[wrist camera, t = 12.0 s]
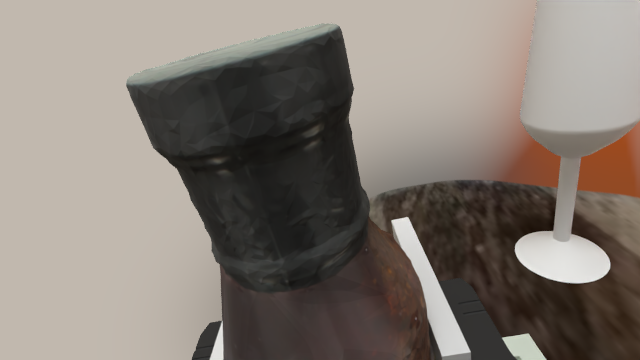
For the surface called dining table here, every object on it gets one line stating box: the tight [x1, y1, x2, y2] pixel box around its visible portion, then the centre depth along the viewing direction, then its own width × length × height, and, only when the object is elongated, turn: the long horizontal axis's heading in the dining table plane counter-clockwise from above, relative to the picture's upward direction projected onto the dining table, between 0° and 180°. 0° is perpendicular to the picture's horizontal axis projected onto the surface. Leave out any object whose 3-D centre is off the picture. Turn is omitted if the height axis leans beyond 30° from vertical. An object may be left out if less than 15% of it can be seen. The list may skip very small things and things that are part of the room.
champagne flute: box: [515, 0, 640, 283], centre depth 23 cm, size 7×7×24 cm
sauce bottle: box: [127, 24, 435, 360], centre depth 11 cm, size 7×6×20 cm
